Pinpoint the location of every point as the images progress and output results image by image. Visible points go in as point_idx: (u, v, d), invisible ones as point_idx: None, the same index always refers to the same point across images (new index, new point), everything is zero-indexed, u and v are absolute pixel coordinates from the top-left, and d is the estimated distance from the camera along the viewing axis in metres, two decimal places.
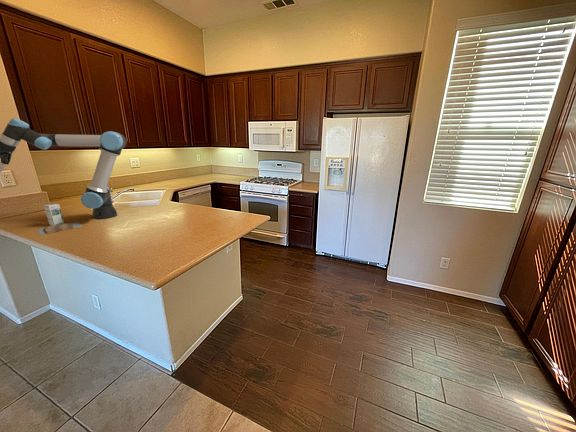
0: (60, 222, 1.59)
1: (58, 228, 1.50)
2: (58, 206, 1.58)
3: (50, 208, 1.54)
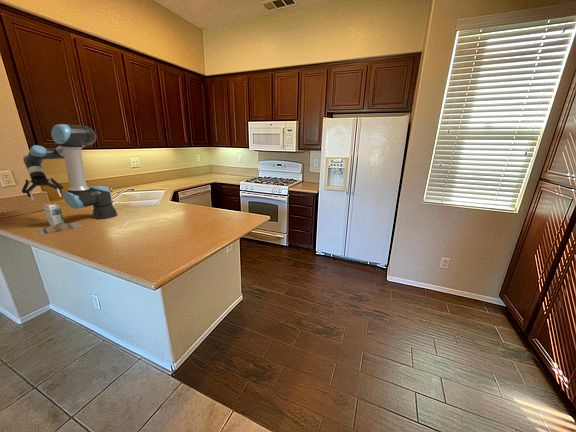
0: (60, 222, 1.59)
1: (58, 228, 1.50)
2: (58, 206, 1.58)
3: (50, 208, 1.54)
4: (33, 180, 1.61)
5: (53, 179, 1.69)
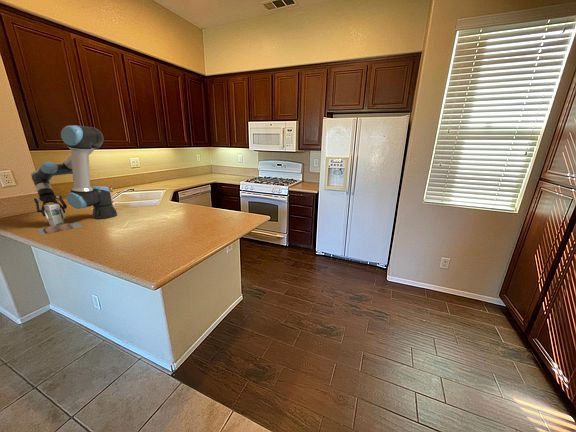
0: (60, 222, 1.59)
1: (58, 228, 1.50)
2: (58, 206, 1.58)
3: (50, 208, 1.54)
4: (41, 197, 1.57)
5: (61, 197, 1.64)
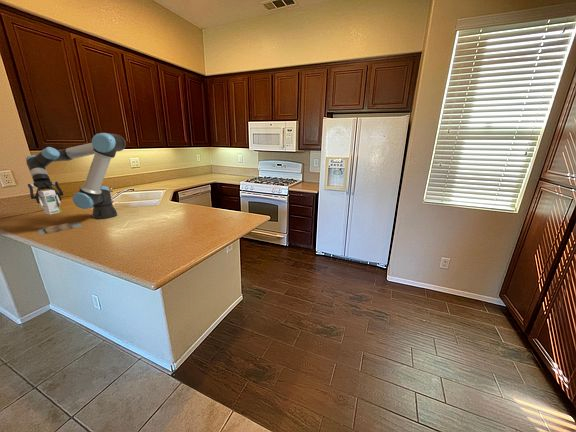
0: (55, 210, 1.49)
1: (58, 228, 1.50)
2: (53, 192, 1.47)
3: (45, 194, 1.43)
4: (36, 183, 1.47)
5: (57, 183, 1.53)
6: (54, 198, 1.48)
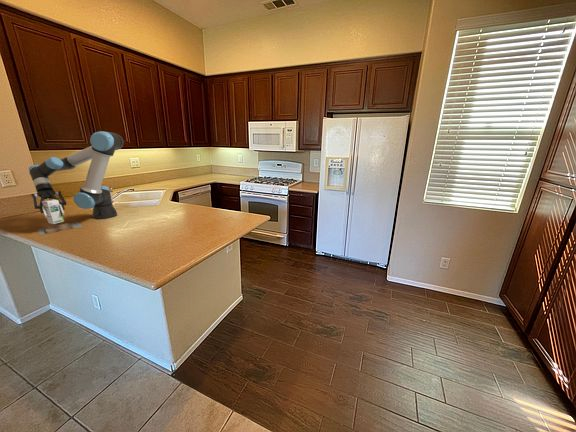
0: (59, 219, 1.50)
1: (58, 228, 1.50)
2: (57, 202, 1.48)
3: (49, 204, 1.45)
4: (39, 193, 1.48)
5: (60, 193, 1.55)
6: (58, 208, 1.49)
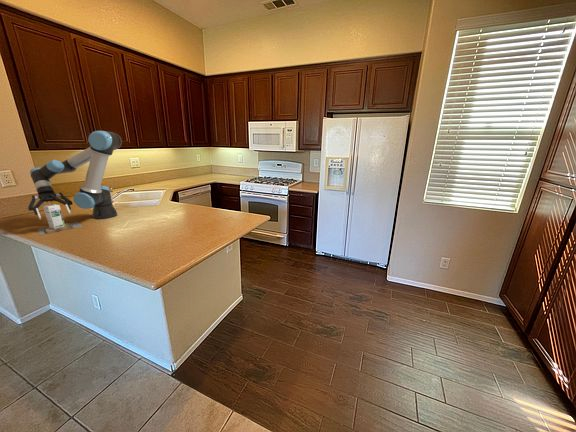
0: (60, 224, 1.51)
1: (58, 228, 1.50)
2: (58, 207, 1.49)
3: (50, 209, 1.45)
4: (40, 196, 1.49)
5: (62, 194, 1.56)
6: (59, 213, 1.49)
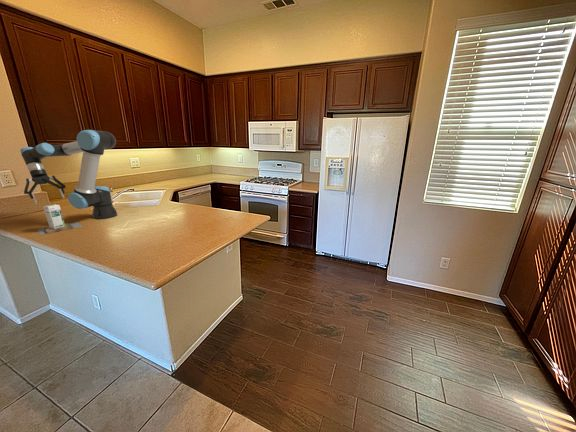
0: (60, 224, 1.51)
1: (58, 228, 1.50)
2: (58, 207, 1.49)
3: (50, 209, 1.45)
4: (34, 179, 1.55)
5: None
6: (59, 213, 1.49)
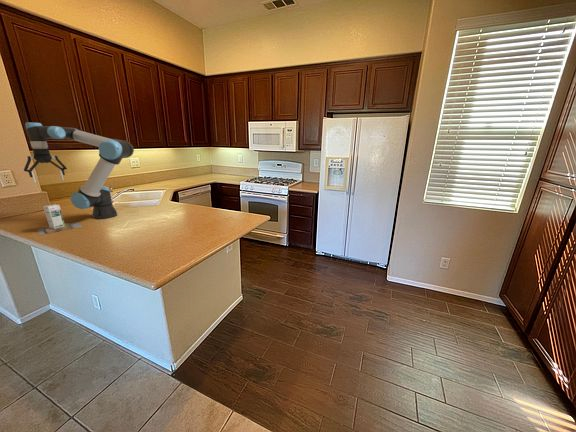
0: (60, 224, 1.51)
1: (58, 228, 1.50)
2: (58, 207, 1.49)
3: (50, 209, 1.45)
4: (36, 157, 1.52)
5: (57, 157, 1.59)
6: (59, 213, 1.49)
